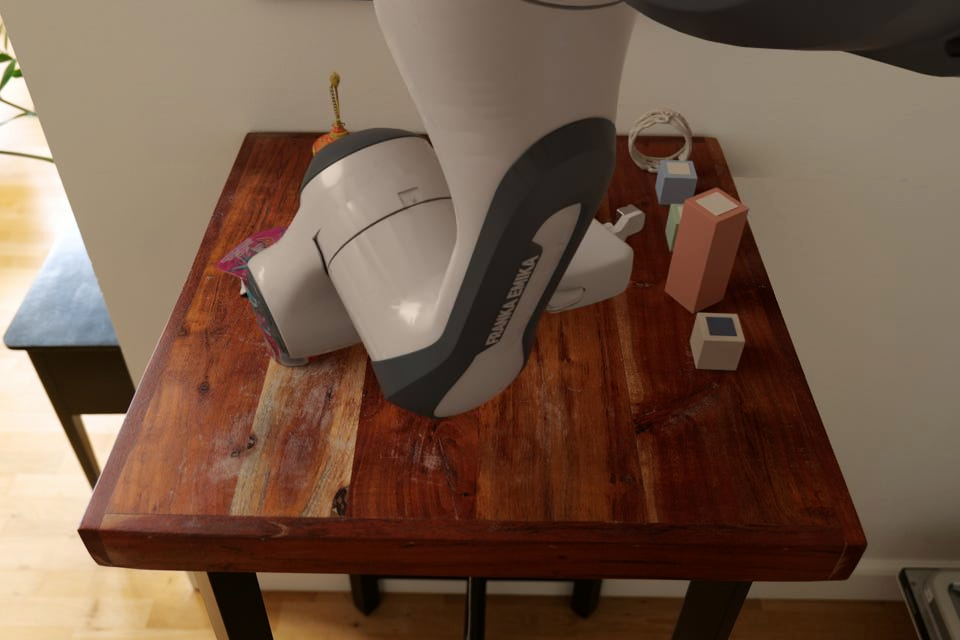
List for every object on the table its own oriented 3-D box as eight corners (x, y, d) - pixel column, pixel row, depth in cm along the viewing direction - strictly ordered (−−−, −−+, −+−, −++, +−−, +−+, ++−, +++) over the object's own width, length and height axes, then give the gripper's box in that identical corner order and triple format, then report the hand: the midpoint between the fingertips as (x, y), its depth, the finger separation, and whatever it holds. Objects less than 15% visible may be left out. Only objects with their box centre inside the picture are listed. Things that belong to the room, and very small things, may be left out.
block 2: (704, 253, 99) (711, 224, 96) (669, 251, 99) (676, 223, 96) (698, 232, 102) (705, 203, 99) (665, 231, 102) (671, 202, 99)
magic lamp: (315, 226, 101) (305, 144, 93) (315, 146, 114) (306, 69, 106) (374, 222, 102) (368, 141, 94) (367, 143, 115) (361, 66, 107)
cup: (305, 308, 90) (291, 215, 82) (355, 350, 86) (345, 255, 78) (228, 351, 85) (204, 256, 77) (277, 397, 81) (258, 301, 73)
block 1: (691, 206, 106) (697, 177, 103) (659, 204, 106) (664, 176, 103) (686, 187, 109) (692, 160, 106) (655, 186, 109) (660, 158, 106)
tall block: (723, 299, 93) (749, 207, 85) (692, 314, 91) (717, 221, 83) (694, 277, 96) (717, 186, 87) (664, 291, 94) (684, 199, 86)
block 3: (736, 370, 85) (745, 340, 82) (695, 369, 85) (704, 339, 82) (728, 342, 88) (737, 313, 85) (689, 341, 88) (697, 311, 85)
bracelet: (624, 157, 114) (633, 103, 109) (685, 163, 113) (697, 109, 108) (623, 173, 111) (632, 118, 106) (685, 180, 110) (698, 125, 105)
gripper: (542, 282, 57) (696, 219, 62) (393, 145, 69) (532, 103, 75) (536, 351, 61) (680, 285, 67) (396, 210, 73) (528, 165, 79)
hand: (600, 188), depth 71 cm, fingers open, 8 cm apart
